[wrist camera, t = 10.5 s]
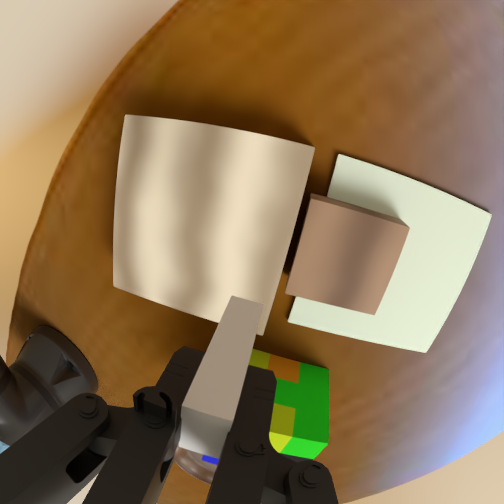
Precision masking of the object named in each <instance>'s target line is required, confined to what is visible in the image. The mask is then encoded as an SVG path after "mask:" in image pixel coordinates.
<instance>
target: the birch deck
mask: <svg viewBox="0 0 504 504" xmlns="http://www.w3.org/2000/svg"><path fill="white" fill-rule="evenodd" d="M314 151H315V147H313V146H309V145H305V144H301V143H298V142H294V141H290V140H285V139H281V138H277V137H273V136H268V135H264V134H259V133H254V132H249V131H244V130H239V129H234V128H229V127H223V126H217V125H211V124H205V123H198V122H192V121H184V120H177V119H169V118H160V117H150V116H138V115H125V119H124V125H123V131H122V138H121V145H120V153H119V162H118V171H117V182H116V194H115V210H114V233H113V284H114V287H117V288H119V289H122V290H124V291H127V292H130V293H132V294H135V295H138V296H140V297H143V298H146V299H149V300H151V301H154V302H157V303H160V304H163V305H166V306H168V307H171V308H174V309H177V310H180V311H183V312H186V313H189V314H192V315H195V316H198V317H202V318H205V319H208V320H211V321H214V322H217V323H219V322H220V320H221V318H222V315H223V313H224V311H225V309H226V307H227V304H228V302H229V300H230V298H231V296H236V297H239V298H243V299H247V300H250V301H254V302H258V303H261V304H264V305H263V309H262V313H261V317H260V321H259V325H258V329H257V333H256V334H258V335H262V336H263V333H264V330H265V327H266V323H267V320H268V317H269V314H270V310H271V307H272V304H273V300H274V297H275V294H276V290H277V287H278V283H279V280H280V277H281V273H282V270H283V266H284V263H285V259H286V256H287V252H288V249H289V245H290V241H291V238H292V234H293V231H294V227H295V223H296V220H297V216H298V212H299V209H300V205H301V201H302V197H303V193H304V190H305V186H306V182H307V178H308V174H309V170H310V166H311V163H312V159H313V155H314Z"/></svg>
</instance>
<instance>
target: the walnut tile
mask: <svg viewBox="0 0 504 504" xmlns="http://www.w3.org/2000/svg"><path fill="white" fill-rule="evenodd" d="M409 229H410V227H409V226H408V225H406V224H405V223H404V222H403V221H402V220H401V219H399V218H395V217H392V216H389V215H386V214H383V213H380V212H377V211H373V210H370V209H367V208H363V207H360V206H357V205H353V204H350V203H346V202H343V201H339V200H336V199H332V198H329V197H325V196H321V195H318V194H314V193H311V194H310V198H309V202H308V206H307V210H306V213H305V217H304V221H303V225H302V229H301V232H300V236H299V240H298V243H297V247H296V251H295V254H294V258H293V261H292V265H291V268H290V272H289V275H288V279H287V284H286V290H285V294H289V295H293V296H297V297H301V298H305V299H309V300H313V301H317V302H321V303H325V304H329V305H333V306H337V307H341V308H345V309H349V310H354V311H358V312H362V313H366V314H371V315H375V313H376V311H377V309H378V307H379V305H380V302H381V300H382V298H383V296H384V293H385V291H386V289H387V286H388V284H389V282H390V279H391V277H392V275H393V272H394V270H395V267H396V265H397V262H398V259H399V257H400V254H401V252H402V249H403V246H404V244H405V241H406V238H407V235H408V232H409Z"/></svg>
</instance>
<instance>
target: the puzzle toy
mask: <svg viewBox="0 0 504 504" xmlns="http://www.w3.org/2000/svg"><path fill="white" fill-rule="evenodd" d="M248 365H252V366H256V367H260V368H264V369H268V370H272V371H273V372H274V374H275V377H276V380H277V386H276V392H275V400H274V406H273V413H272V420H271V426H270V432H269V439H270V442H271V444H272V446H273V448H274V449H275V450H276V451H277V452H278V453H280V454H281V455H283V456H285V457H287V458H289V459H291V460H293V461H295V462H297V463H298V462H300V461H305V460H313V459H314V458H315V457H316V456H317V455H318V454H319V453H320V452H321V451H322V450H323V449H324V448H325V447H326V446H327V445H328V441H329V369H326V368H322V367H317V366H314V365H310V364H306V363H302V362H298V361H294V360H291V359H287V358H283V357H280V356H276V355H273V354H269V353H266V352H263V351H259V350H256V349H253V348H252V352H251V356H250V360H249V364H248ZM202 460H203V461H206V462H209V463H212V464H215V465H218V461H219V459H217V458H214V457H210V456H207V455H204V454H203V457H202Z"/></svg>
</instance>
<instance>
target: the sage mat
mask: <svg viewBox="0 0 504 504" xmlns="http://www.w3.org/2000/svg"><path fill="white" fill-rule="evenodd" d="M327 197H329V198H332V199H336V200H339V201H343V202H346V203H350V204H353V205H357V206H360V207H363V208H367V209H370V210H373V211H377V212H380V213H383V214H386V215H389V216H392V217H395V218H399V219H401V220H402V221H403V222H404V223H405V224H406V225H408V226H409V227H410V229H409V232H408V235H407V238H406V241H405V244H404V246H403V249H402V252H401V254H400V257H399V259H398V262H397V265H396V267H395V270H394V272H393V275H392V277H391V279H390V282H389V284H388V286H387V289H386V291H385V293H384V296H383V298H382V300H381V302H380V305H379V307H378V309H377V311H376V313H375V315H371V314H366V313H362V312H358V311H354V310H349V309H345V308H341V307H337V306H333V305H329V304H325V303H321V302H317V301H313V300H309V299H305V298H301V297H297V296H296V298H295V301H294V304H293V307H292V309H291V312H290V315H289V318H288V322H290V323H294V324H298V325H302V326H306V327H310V328H314V329H318V330H322V331H326V332H330V333H334V334H339V335H343V336H347V337H351V338H356V339H360V340H365V341H369V342H374V343H379V344H384V345H388V346H393V347H398V348H403V349H408V350H414V351H419V352H424V353H426V352H427V350H428V349H429V347H430V346H431V344H432V342H433V341H434V339H435V337H436V336H437V334H438V332H439V331H440V329H441V327H442V325H443V324H444V322H445V320H446V318H447V317H448V315H449V313H450V311H451V309H452V307H453V305H454V303H455V301H456V300H457V298H458V296H459V294H460V292H461V289H462V287H463V285H464V283H465V281H466V279H467V277H468V275H469V272H470V270H471V268H472V266H473V263H474V261H475V259H476V256H477V254H478V251H479V249H480V246H481V244H482V241H483V239H484V236H485V233H486V230H487V228H488V225H489V222H490V219H491V216H492V215H491V214H490V213H488V212H486V211H484V210H482V209H480V208H478V207H475V206H473V205H471V204H469V203H467V202H465V201H463V200H461V199H458V198H456V197H454V196H452V195H450V194H447V193H445V192H443V191H440V190H438V189H436V188H433V187H431V186H428V185H426V184H424V183H421V182H419V181H416V180H413V179H411V178H408V177H406V176H403V175H400V174H398V173H395V172H392V171H389V170H387V169H384V168H381V167H378V166H375V165H372V164H369V163H366V162H363V161H360V160H357V159H354V158H351V157H347V156H344V155H341V154H338V157H337V160H336V164H335V168H334V172H333V175H332V179H331V183H330V186H329V190H328V194H327Z"/></svg>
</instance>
